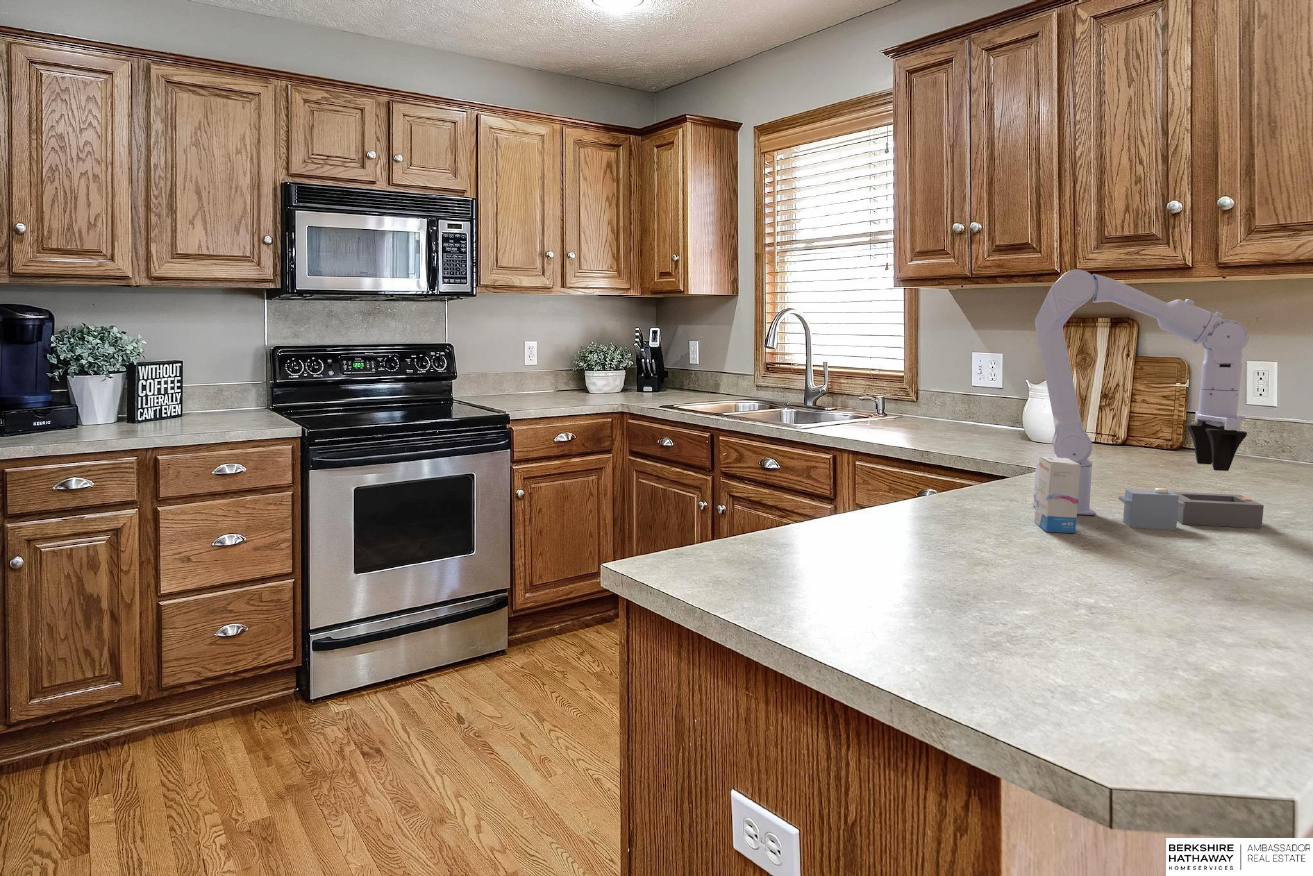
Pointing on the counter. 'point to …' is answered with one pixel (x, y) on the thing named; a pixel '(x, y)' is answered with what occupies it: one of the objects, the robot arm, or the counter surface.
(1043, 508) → the ink box
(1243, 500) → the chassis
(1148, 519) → the servo
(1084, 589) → the counter surface
